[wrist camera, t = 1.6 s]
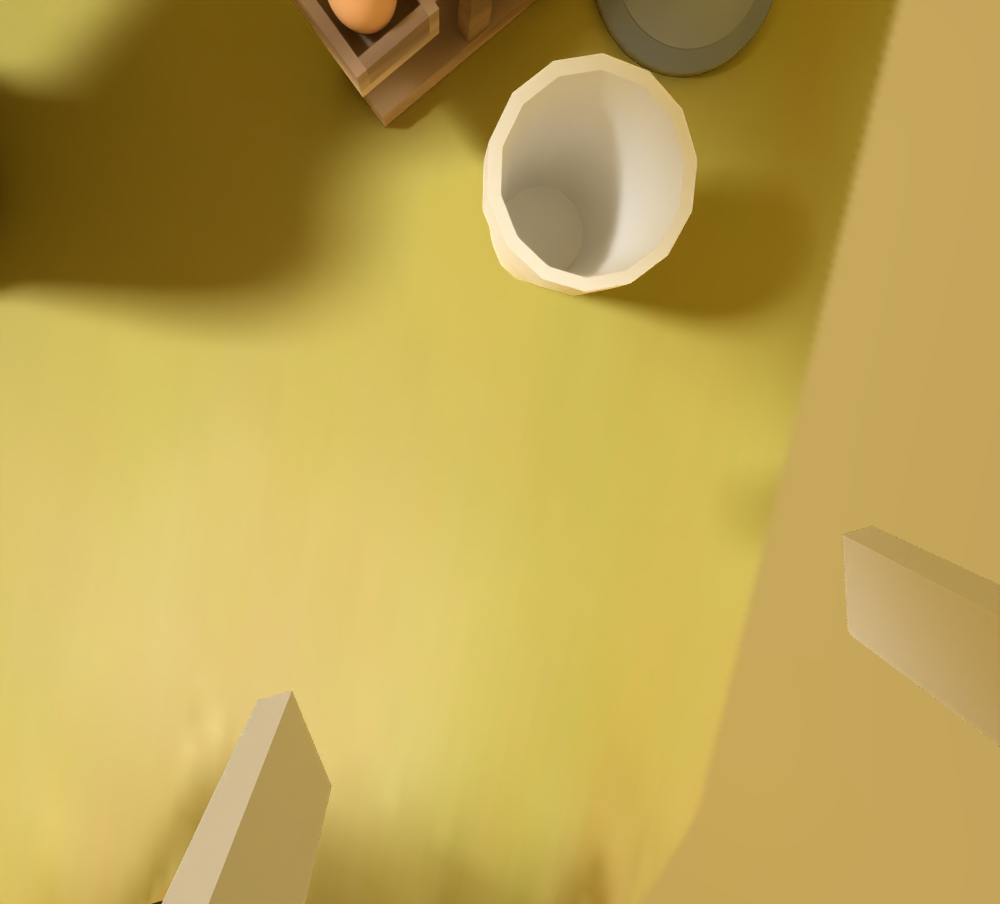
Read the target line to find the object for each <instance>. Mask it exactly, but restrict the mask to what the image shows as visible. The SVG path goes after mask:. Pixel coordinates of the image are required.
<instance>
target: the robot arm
mask: <svg viewBox="0 0 1000 904" xmlns="http://www.w3.org/2000/svg"><path fill="white" fill-rule="evenodd" d="M842 538H843V555H844V572H845V589H846V606H847V623H848V633H849V634H850V635H851V636H853V637H854V638H855V639H857V640H858V641H859V642H861V643H862V644H863V645H865V646H866V647H867V648H869V649H870V650H871V651H873V652H874V653H876V654H877V655H878V656H880V657H881V658H882V659H883V660H885V661H886V662H887V663H889V664H890V665H891V666H893V667H894V668H896V669H897V670H898V671H900V672H901V673H902V674H903V675H905V676H906V677H908V678H909V679H910V680H911V681H913V682H914V683H915V684H917V685H918V686H919V687H921V688H922V689H923V690H925V691H926V692H927V693H929V694H930V695H931V696H933V697H934V698H935V699H937V700H938V701H939V702H941V703H942V704H943V705H945V706H946V707H947V708H949V709H950V710H951V711H953V712H954V713H955V714H957V715H958V716H959V717H961V718H962V719H964V720H965V721H966V722H967V723H969V724H970V725H971V726H973V727H974V728H975V729H977V730H978V731H979V732H981V733H982V734H983V735H985V736H986V737H987V738H989V739H990V740H992V741H993V742H994V743H995V744H997V745H998V746H999V747H1000V585H998V584H996V583H994V582H992V581H990V580H988V579H985V578H983V577H981V576H979V575H977V574H975V573H972V572H970V571H968V570H966V569H964V568H962V567H959V566H957V565H955V564H953V563H951V562H949V561H946V560H944V559H942V558H940V557H938V556H936V555H934V554H931V553H929V552H927V551H925V550H923V549H921V548H919V547H916V546H914V545H912V544H910V543H908V542H906V541H903V540H901V539H899V538H897V537H895V536H892V535H891V534H888V533H886V532H884V531H882V530H880V529H878V528H876V527H873V526H871V527H867V528H863V529H860V530H856V531H853V532H850V533H846V534H843V535H842ZM330 790H331V784H330V781H329V779H328V776H327V774H326V771H325V769H324V767H323V764H322V762H321V759H320V757H319V755H318V752H317V750H316V747H315V745H314V743H313V740H312V738H311V735H310V733H309V731H308V728H307V726H306V723H305V721H304V719H303V716H302V714H301V711H300V709H299V706H298V704H297V702H296V699H295V697H294V694H293V692H292V691H289V692H285V693H282V694H278V695H275V696H271V697H268V698H264V699H261V700H257V703H256V705H255V707H254V709H253V711H252V713H251V715H250V717H249V719H248V722H247V724H246V726H245V728H244V730H243V732H242V734H241V736H240V739H239V741H238V743H237V745H236V747H235V749H234V751H233V753H232V755H231V758H230V760H229V762H228V764H227V766H226V768H225V770H224V772H223V775H222V777H221V779H220V781H219V783H218V785H217V787H216V789H215V791H214V794H213V796H212V798H211V800H210V802H209V804H208V806H207V808H206V811H205V813H204V815H203V817H202V819H201V821H200V823H199V825H198V827H197V830H196V832H195V834H194V836H193V838H192V840H191V842H190V844H189V847H188V849H187V851H186V853H185V855H184V857H183V859H182V861H181V863H180V866H179V868H178V870H177V872H176V874H175V876H174V878H173V880H172V883H171V885H170V887H169V889H168V891H167V893H166V895H165V897H164V899H163V901H160V902H156V903H153V904H305V901H306V897H307V893H308V888H309V884H310V879H311V875H312V870H313V866H314V861H315V857H316V853H317V848H318V844H319V839H320V835H321V830H322V826H323V821H324V817H325V813H326V808H327V804H328V799H329V795H330Z"/></svg>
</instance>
